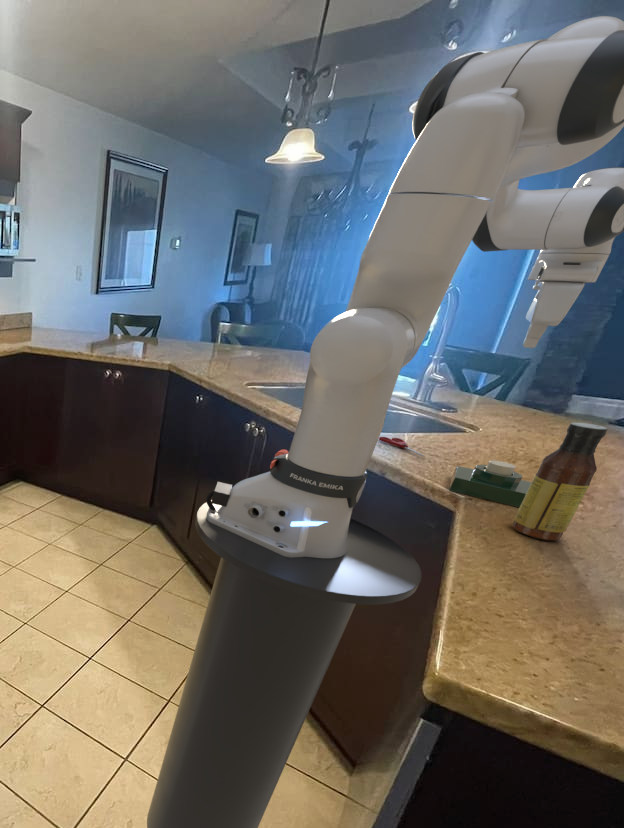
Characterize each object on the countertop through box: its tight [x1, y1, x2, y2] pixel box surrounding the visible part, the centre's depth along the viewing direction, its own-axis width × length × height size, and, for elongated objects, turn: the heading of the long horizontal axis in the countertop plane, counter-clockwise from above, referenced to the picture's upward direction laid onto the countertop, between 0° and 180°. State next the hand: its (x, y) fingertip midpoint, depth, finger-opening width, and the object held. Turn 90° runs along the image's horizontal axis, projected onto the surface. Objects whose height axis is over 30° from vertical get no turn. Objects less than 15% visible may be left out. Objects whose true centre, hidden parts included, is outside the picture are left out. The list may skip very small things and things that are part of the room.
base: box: [448, 464, 532, 509], centre depth 102 cm, size 12×10×5 cm
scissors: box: [378, 436, 424, 457], centre depth 127 cm, size 5×14×1 cm, turn 173°
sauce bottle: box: [512, 422, 608, 542], centre depth 83 cm, size 6×6×20 cm
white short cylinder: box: [485, 459, 517, 476], centre depth 100 cm, size 4×4×2 cm
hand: (528, 347), depth 97 cm, fingers closed
